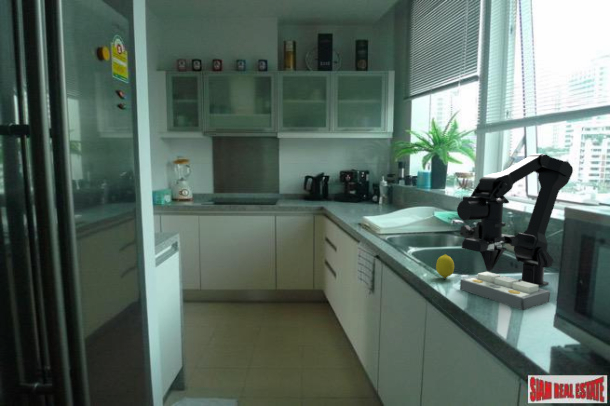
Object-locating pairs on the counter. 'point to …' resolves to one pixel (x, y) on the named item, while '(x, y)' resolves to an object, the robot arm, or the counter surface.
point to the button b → (505, 281)
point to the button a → (487, 276)
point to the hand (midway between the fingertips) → (489, 270)
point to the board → (504, 293)
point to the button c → (525, 287)
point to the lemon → (445, 266)
